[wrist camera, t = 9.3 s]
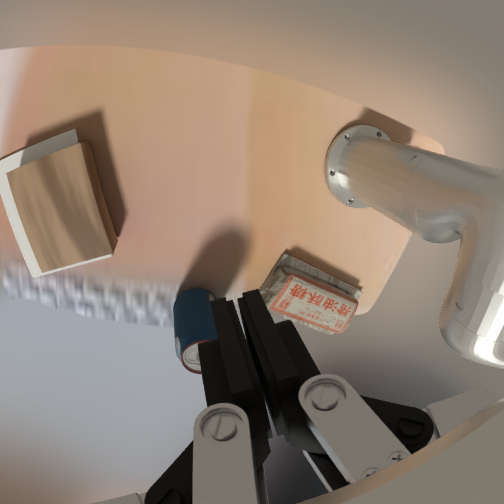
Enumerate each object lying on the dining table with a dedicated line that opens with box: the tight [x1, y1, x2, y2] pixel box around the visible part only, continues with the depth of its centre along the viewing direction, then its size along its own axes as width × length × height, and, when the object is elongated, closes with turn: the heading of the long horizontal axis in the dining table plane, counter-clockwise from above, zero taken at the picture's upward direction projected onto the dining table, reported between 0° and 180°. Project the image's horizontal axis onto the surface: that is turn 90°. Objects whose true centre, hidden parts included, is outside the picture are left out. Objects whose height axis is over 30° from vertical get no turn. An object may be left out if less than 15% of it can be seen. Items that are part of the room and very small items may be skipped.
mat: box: [0, 128, 112, 278], centre depth 35 cm, size 14×18×1 cm
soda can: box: [173, 288, 218, 374], centre depth 41 cm, size 7×7×12 cm
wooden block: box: [6, 140, 118, 273], centre depth 33 cm, size 4×14×11 cm
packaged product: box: [259, 253, 363, 335], centre depth 50 cm, size 18×5×10 cm
